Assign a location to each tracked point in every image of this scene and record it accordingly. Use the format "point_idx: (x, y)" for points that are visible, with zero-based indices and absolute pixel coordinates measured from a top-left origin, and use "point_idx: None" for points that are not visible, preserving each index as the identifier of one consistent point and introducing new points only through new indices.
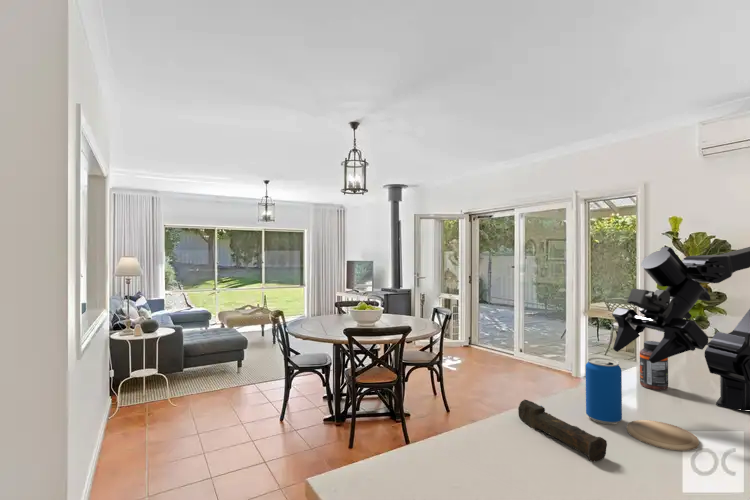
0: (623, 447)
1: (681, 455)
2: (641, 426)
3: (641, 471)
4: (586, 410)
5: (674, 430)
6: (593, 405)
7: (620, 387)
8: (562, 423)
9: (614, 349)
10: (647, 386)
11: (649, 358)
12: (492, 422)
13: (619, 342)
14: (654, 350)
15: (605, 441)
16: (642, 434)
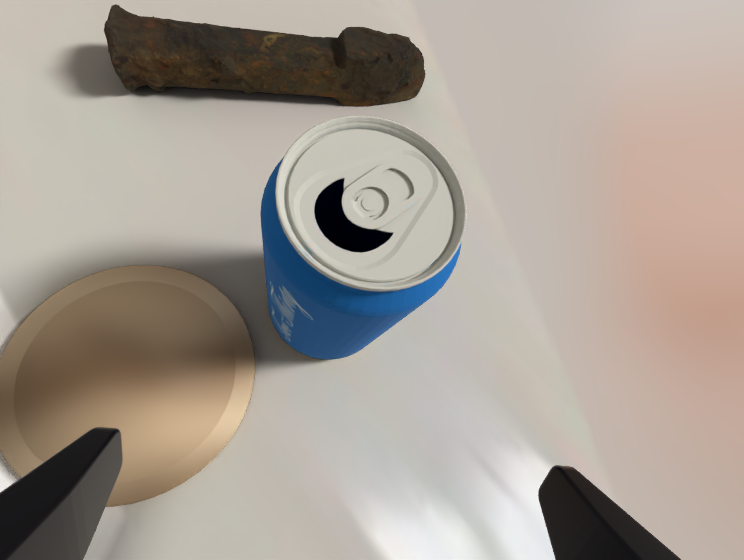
0: (148, 186)
1: (6, 299)
2: (203, 348)
3: (27, 111)
4: (360, 251)
5: None
6: (324, 225)
7: (269, 280)
8: (252, 39)
9: (553, 469)
10: None
11: (104, 433)
12: (407, 30)
13: (612, 558)
14: (16, 531)
15: (110, 55)
16: (155, 290)
